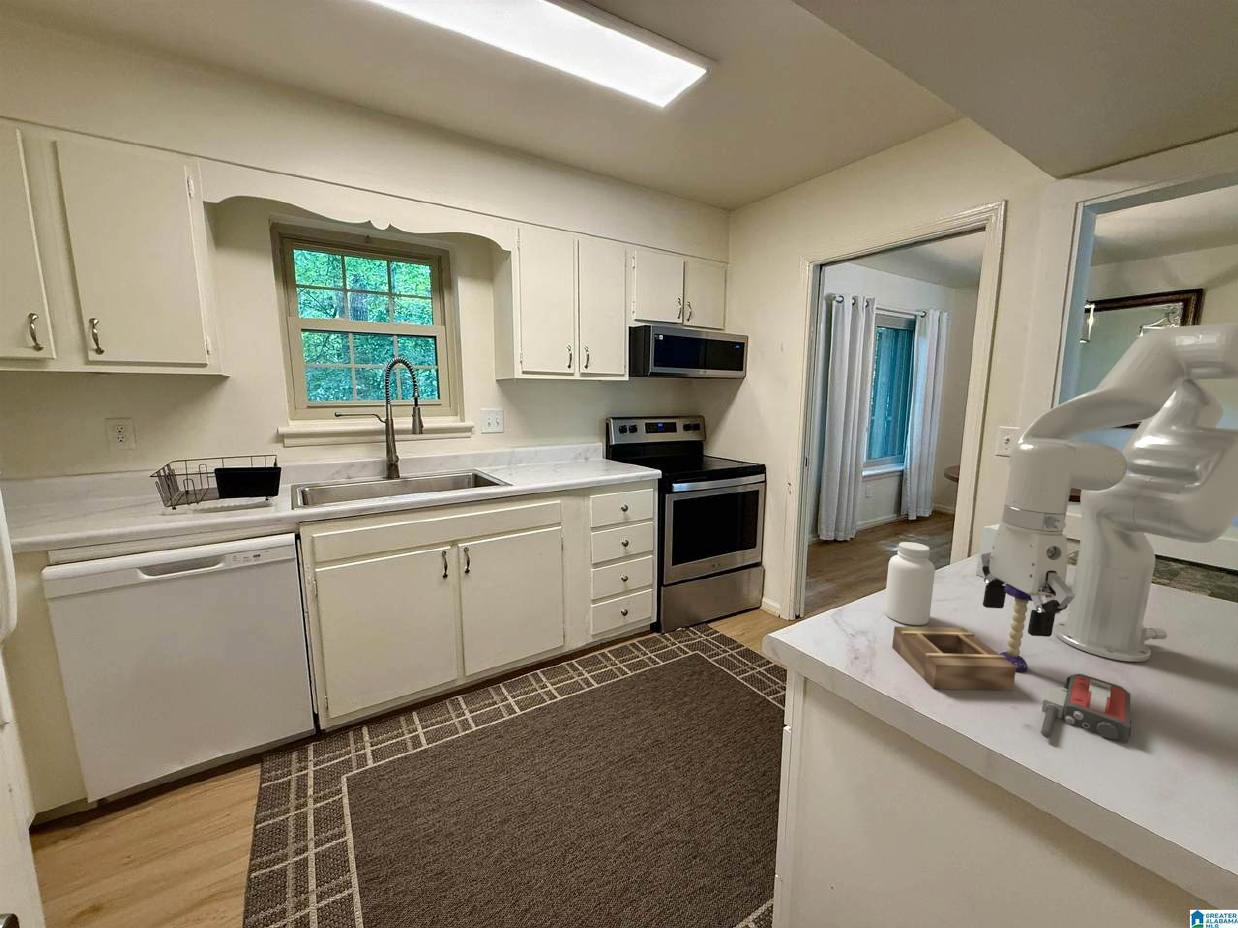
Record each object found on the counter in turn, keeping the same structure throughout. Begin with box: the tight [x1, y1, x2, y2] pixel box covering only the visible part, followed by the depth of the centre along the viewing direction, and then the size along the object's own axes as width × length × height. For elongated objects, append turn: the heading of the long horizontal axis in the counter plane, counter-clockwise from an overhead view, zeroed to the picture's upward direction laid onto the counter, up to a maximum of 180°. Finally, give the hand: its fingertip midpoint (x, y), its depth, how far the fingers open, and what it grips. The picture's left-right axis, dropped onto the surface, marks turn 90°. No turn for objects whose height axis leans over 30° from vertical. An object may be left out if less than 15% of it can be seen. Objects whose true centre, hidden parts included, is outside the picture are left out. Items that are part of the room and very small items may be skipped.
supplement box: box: [975, 523, 1006, 586], centre depth 119 cm, size 7×7×13 cm
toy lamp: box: [998, 584, 1041, 673], centre depth 80 cm, size 5×5×17 cm
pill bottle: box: [883, 541, 936, 626], centre depth 98 cm, size 8×8×15 cm
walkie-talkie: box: [1040, 673, 1132, 744], centre depth 68 cm, size 9×4×20 cm
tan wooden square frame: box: [891, 626, 1017, 692], centre depth 81 cm, size 12×12×4 cm
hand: (1014, 620), depth 80 cm, fingers open, 9 cm apart
